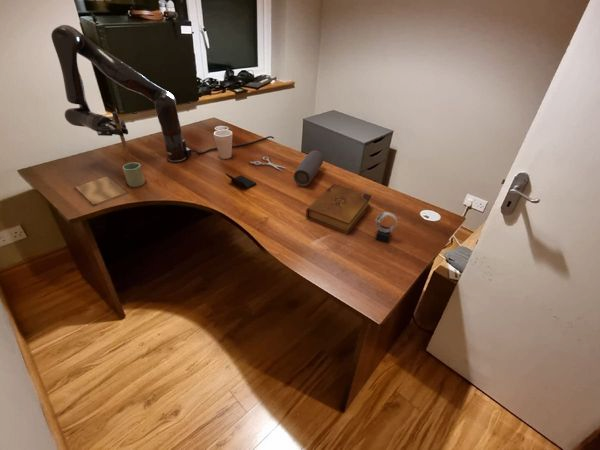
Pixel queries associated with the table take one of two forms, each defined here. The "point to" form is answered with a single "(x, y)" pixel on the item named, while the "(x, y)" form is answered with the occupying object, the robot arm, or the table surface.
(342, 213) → the diary
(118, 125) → the brush
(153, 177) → the table surface
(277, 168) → the scissors
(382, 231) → the watch
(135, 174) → the brush pot
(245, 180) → the dark angular piece
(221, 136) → the foam cup
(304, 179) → the bluetooth speaker
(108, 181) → the mat
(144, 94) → the robot arm
